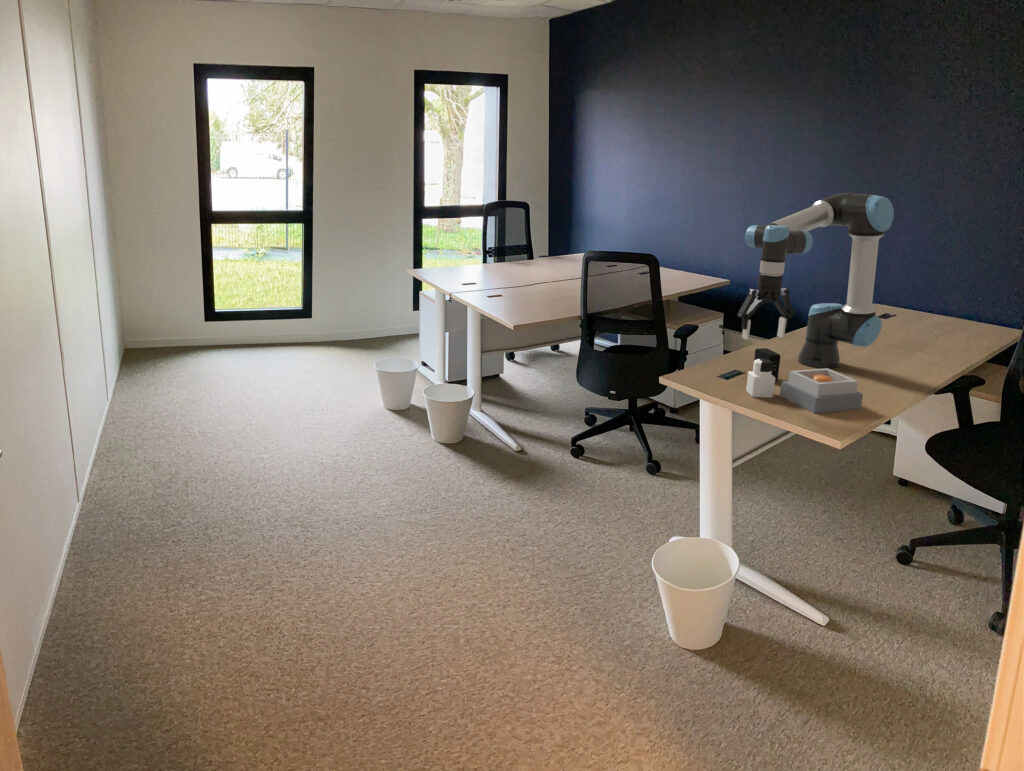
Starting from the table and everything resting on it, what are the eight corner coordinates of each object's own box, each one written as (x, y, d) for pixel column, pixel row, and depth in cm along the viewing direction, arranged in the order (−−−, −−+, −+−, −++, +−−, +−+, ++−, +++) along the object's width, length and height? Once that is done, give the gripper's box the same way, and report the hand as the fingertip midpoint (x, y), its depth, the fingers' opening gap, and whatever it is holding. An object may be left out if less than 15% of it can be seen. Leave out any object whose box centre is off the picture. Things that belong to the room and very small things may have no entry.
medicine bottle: (766, 391, 285) (770, 357, 281) (773, 397, 278) (777, 363, 274) (745, 390, 285) (749, 357, 281) (752, 397, 278) (756, 362, 274)
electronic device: (767, 382, 295) (770, 355, 292) (752, 374, 304) (755, 348, 301) (777, 382, 296) (781, 354, 293) (762, 374, 305) (765, 347, 302)
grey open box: (824, 392, 286) (828, 366, 283) (860, 408, 270) (865, 382, 267) (779, 395, 280) (783, 370, 278) (814, 413, 264) (817, 386, 261)
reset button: (822, 389, 278) (824, 374, 276) (834, 394, 272) (836, 379, 271) (807, 390, 276) (809, 375, 274) (819, 396, 270) (821, 380, 269)
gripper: (796, 271, 277) (788, 333, 284) (731, 272, 270) (724, 336, 276) (810, 275, 270) (801, 338, 277) (744, 276, 263) (736, 342, 269)
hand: (762, 337), depth 276 cm, fingers open, 13 cm apart
